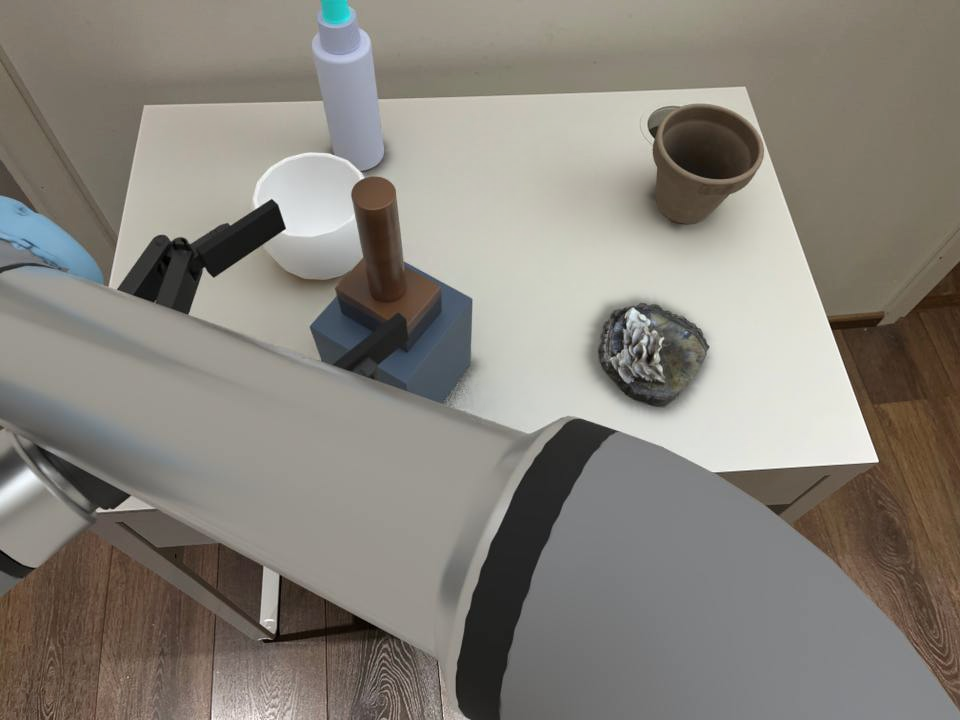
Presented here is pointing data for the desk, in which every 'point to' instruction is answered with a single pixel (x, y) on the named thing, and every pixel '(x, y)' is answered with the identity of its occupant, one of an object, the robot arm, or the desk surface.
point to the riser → (426, 363)
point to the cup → (313, 214)
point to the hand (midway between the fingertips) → (339, 267)
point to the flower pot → (703, 160)
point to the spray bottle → (348, 85)
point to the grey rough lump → (651, 352)
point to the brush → (385, 268)
